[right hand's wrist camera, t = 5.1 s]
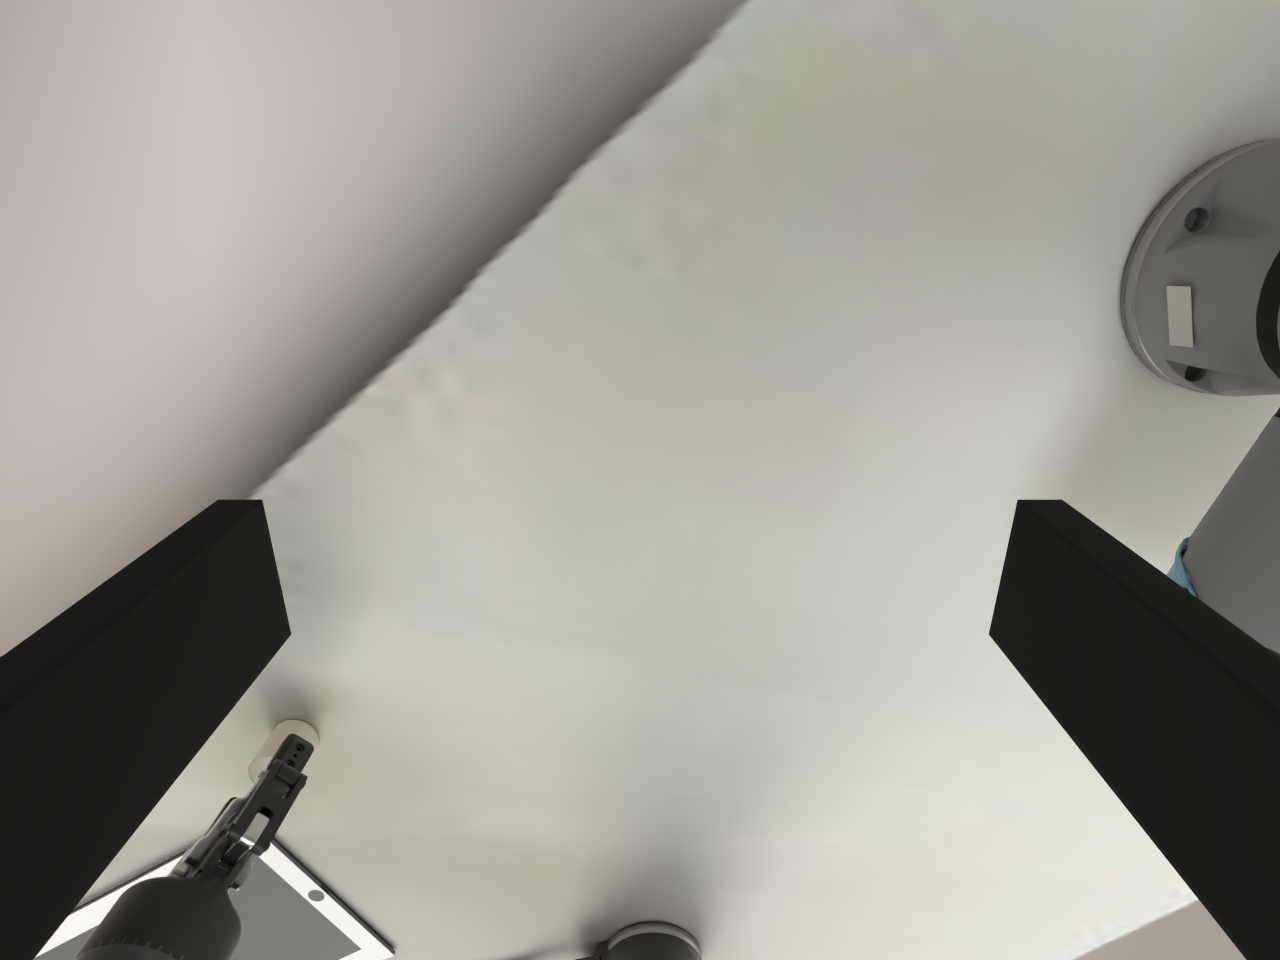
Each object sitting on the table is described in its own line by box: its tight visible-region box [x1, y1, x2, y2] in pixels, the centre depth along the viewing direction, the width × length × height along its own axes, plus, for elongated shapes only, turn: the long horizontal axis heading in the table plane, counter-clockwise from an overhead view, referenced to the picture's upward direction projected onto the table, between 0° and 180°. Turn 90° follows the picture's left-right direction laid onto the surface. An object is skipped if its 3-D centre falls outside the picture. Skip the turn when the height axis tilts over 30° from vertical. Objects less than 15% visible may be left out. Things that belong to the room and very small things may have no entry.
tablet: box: [34, 839, 395, 960], centre depth 68 cm, size 32×20×1 cm, turn 122°
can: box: [249, 720, 319, 783], centre depth 57 cm, size 4×4×4 cm
